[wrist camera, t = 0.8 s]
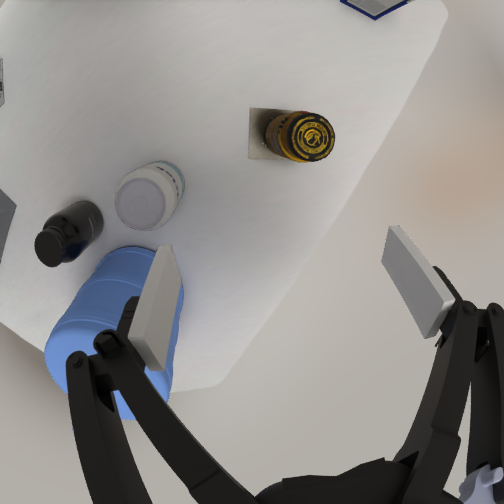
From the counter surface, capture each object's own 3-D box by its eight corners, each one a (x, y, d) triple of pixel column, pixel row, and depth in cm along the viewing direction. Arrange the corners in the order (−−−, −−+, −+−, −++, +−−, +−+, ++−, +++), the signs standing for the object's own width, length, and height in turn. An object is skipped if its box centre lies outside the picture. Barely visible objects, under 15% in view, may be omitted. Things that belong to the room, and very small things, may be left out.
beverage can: (194, 190, 38) (185, 213, 27) (155, 216, 39) (134, 248, 28) (168, 150, 35) (148, 157, 25) (130, 178, 36) (97, 196, 25)
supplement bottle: (112, 222, 38) (79, 255, 27) (87, 248, 39) (53, 285, 28) (85, 190, 36) (44, 212, 25) (61, 218, 37) (21, 247, 26)
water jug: (118, 226, 39) (17, 352, 13) (202, 277, 44) (196, 439, 18) (85, 296, 43) (18, 421, 17) (158, 337, 48) (136, 476, 22)
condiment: (306, 160, 38) (340, 172, 28) (248, 158, 37) (261, 167, 26) (308, 112, 35) (344, 106, 25) (250, 108, 34) (264, 96, 24)
